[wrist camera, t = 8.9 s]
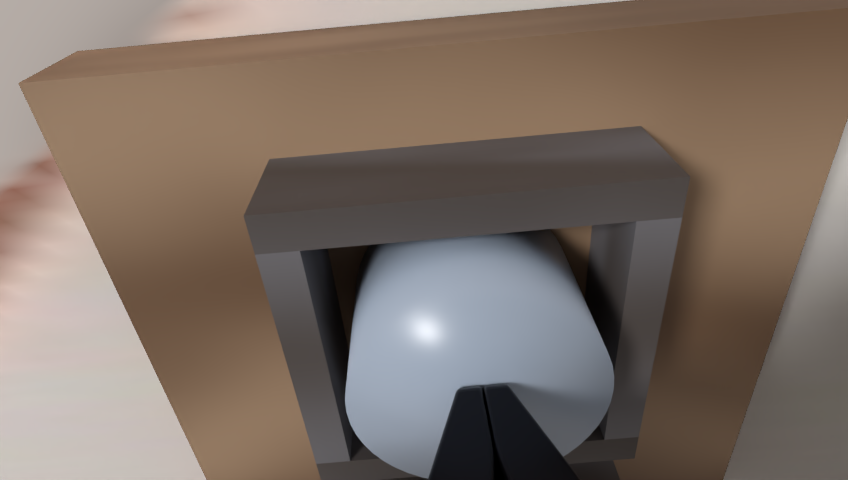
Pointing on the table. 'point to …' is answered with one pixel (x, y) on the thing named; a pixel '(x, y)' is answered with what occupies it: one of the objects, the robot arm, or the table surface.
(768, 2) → the button panel
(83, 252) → the table surface
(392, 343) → the slate button
